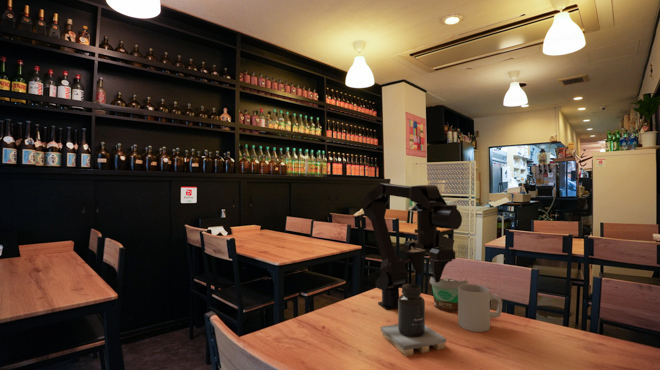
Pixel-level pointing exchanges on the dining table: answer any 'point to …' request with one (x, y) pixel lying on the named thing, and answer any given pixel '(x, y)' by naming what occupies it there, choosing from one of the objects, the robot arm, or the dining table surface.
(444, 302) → the food container
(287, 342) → the dining table surface
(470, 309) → the mug
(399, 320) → the supplement bottle
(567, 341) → the dining table surface
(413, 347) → the plate
